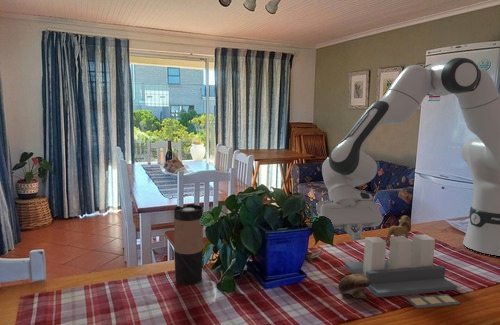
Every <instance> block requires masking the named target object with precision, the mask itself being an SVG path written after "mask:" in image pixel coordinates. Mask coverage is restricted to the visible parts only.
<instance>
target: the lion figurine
mask: <svg viewBox="0 0 500 325" xmlns="http://www.w3.org/2000/svg"><path fill="white" fill-rule="evenodd" d="M398 223H399V224H398V225H391V226H390V227H388V228H389V229H388V231H387V232H388V233H387V236H386V237H385V239H384V241H386V245H387V246H388V247H390V238H391V237H392V235H393V237H397V236H404V237H406V238H407V239H409V233H410V232H411V231H412V230H411V229H412V219H411V218H410V217H409V216H408V215H402V216H400V219H398Z"/></svg>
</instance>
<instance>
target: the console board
mask: <svg viewBox="0 0 500 325" xmlns="http://www.w3.org/2000/svg"><path fill="white" fill-rule="evenodd" d="M363 263H364V261H351V262H344V268H346V270H348V271H349V272H350V273H351V275H352V274H360V275H363V276H365V277H367V278H368V279H369V281H370V285H369V286H368V287H366V288H367V289H368V290H369V291H370V292H371V294H374V296H376V297H377V298H384V297H396V296H398V297H399V296H405V295H407V296H409V295H418V294H430V293H440V292H439V291H443V292H447V291H446V290H454V291H457V290H458V289H457V288H458V285H456V284H455V283H453V282H452V281H450V280H448V279H447V278H445V276H446V267H445V266H443V265H433V266H428V267H414V268H400V269H388V263H389V259H385V267H384V270H373V271H366V274H365V273H364V272H363ZM410 264H411V263H410Z"/></svg>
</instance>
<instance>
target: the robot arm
mask: <svg viewBox="0 0 500 325" xmlns="http://www.w3.org/2000/svg"><path fill="white" fill-rule="evenodd" d="M447 95H455V97H456V98H457V102H458V105H459V108H460V111H461V113H462V117H463V118H464V122H465V125H466V127H467V129H468V130H469V131H470V132H471V133H472V134H474V135H475V136H476V137H474V138H470V139H467V141H466V142H465V143H463V146H462V148H461V157H462V159H463V160H464V161H465V162H466V164H467V165H468V167H469V170H470V173H471V178H472V183H473V189H472V202H471V204H472V205H471V206H470V208H469V220H468V224H467V229H466V232H465V236H463V239H464V240H463V242H462V243H463V244H464V245H465V246H466V247H468V248H470V249H473V250H476V251H479V252H482V253H487V254H491V255H497V256H500V93H499V91H498V88H497V86H496V84H495V82H494V80H493V78H492V76H491V75H490V74H489V72H488V71H487V70H486V69H485V68H482V67H479V66H478V65H477V63H476V62H474V61H473V60H472V59H470V58H466V57H455V58H448V59H442V60H439V61H437V62H434V63H430V64H427V65H425V66H422V65H419V64H418V65H417V64H412V65H407V66H406V67H404V68H403V70H402V71H401V72H400V73H399V74H398V75H397V76H396V78H395V79H394V80H393V82H392V83H391V85H389V87H388V88H387V90H386V92H385V93H384V95H383V96H382V97H381V98H380V99H379V100H378V101H375V102H373V103H371V105H369V106H368V108H367V109H365V111H364V112H363V113H362V115H361V116H360V117H359V118H358V120H357V121H356V122H355V124H354V125H353V126H352V128H350V130H349V131H348V132H347V134H346V135H345V136H344V137H343V138H342V139H341V140H340V141H339V142H337V143H336V144H335V145H334V146H333V147H332V148H331V151H330V152H329V157H327V158H326V159H325V160H324V161H323V162H322V167H321V174H322V179H323V183H324V186H325V188H326V189H327V191H328V192H327V194H328V198H329V199H328V200H319V201H318V202H317V203H316V204H315V209H316V212H317V214H318V215H317V216H318V217H319V216H326V217H328V218H329V219H330V220H331V222H332V224H333V227H334V229H335V230H336V229H344V231H345V233H347V235H349V237H350V240H351V241H362V240H363V238H364V237H363V234H362V232H363V228H373V227H376V228H377V227H378V226H379V225H381V224H382V223H383V219H384V218H383V216H382V212H381V211H380V209H379V206H378V205H377V204H376V203H375V201H373V199H374V197H373V195H372V194H371V193H368V192H363V191H361V190H357V189H356V188H357V187H360V186H363V185H365V184H368V183H370V182H372V180H374V179H375V178H376V176H377V174H378V168H379V167H378V164H377V161H376V159H374V158H372V157H371V156H370V155H368V154H367V153H365V152H364V151H363V146H365V144H366V143H367V141H368V140H369V138H371V137H372V135H373V134H374V132H376V130H377V129H378V128H379V127H380V126H382V125H401V124H405V123H408V121H409V120H410V119H411V118H412V117H414V115H415V114H416V112H417V111H418V109H419V108H420V106H421V104H422V102H423V100H424V99H425V98H426V97H427V96H429V97H430V96H431V97H433V96H436V97H437V96H443V97H444V96H447ZM352 228H355V230H356V231H357V232H354V231H353V229H352ZM334 229H333V230H334ZM466 247H465V248H466Z"/></svg>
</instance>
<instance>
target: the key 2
mask: <svg viewBox="0 0 500 325" xmlns="http://www.w3.org/2000/svg"><path fill="white" fill-rule="evenodd" d="M411 241H412V251H411V264H410V268H414V267H428V266H434V256H435V246H436V244H435V243H436V238H434V237H431V235H430V236H429V235H428V234H413V235H412V240H411Z"/></svg>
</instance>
